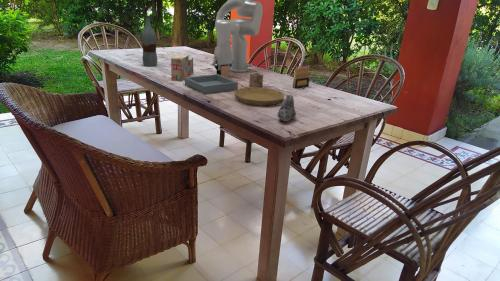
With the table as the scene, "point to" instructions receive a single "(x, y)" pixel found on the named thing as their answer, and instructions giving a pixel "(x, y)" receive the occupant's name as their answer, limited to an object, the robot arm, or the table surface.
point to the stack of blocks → (181, 67)
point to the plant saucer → (259, 96)
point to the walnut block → (256, 80)
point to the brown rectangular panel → (301, 77)
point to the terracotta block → (224, 71)
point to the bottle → (149, 45)
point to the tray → (211, 84)
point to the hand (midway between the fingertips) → (222, 75)
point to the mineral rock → (287, 109)
